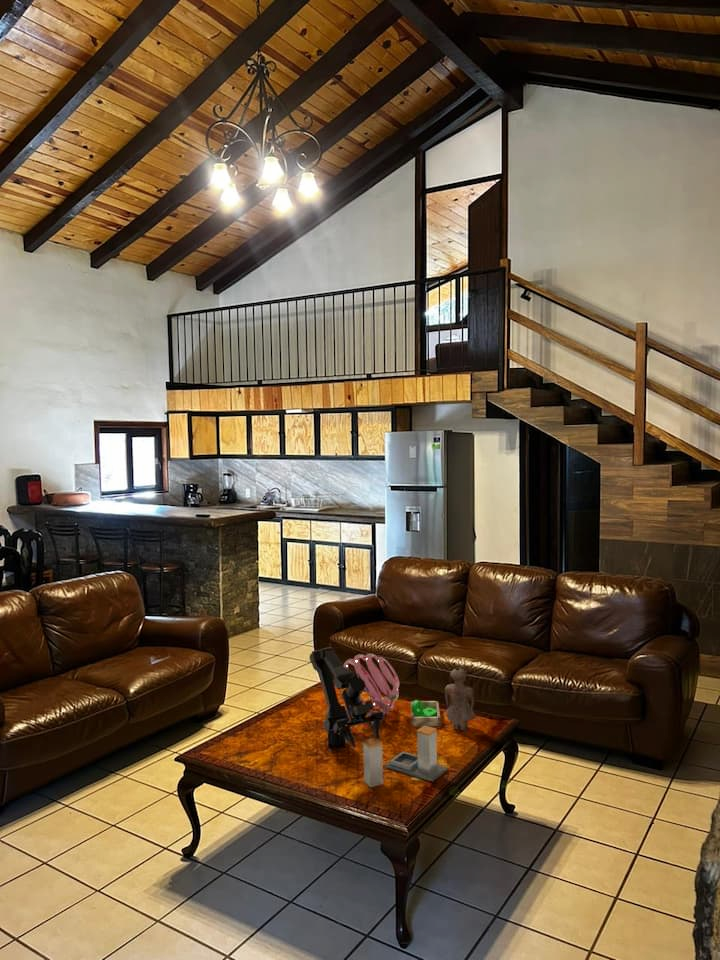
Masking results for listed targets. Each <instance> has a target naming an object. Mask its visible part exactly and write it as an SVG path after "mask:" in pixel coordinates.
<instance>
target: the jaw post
mask: <svg viewBox="0 0 720 960" xmlns="http://www.w3.org/2000/svg"><path fill="white" fill-rule="evenodd" d="M362 746H363V747H362V748H363V750H362V752H363V753H362V754H363V781H364V783H366V785H367V786H368V787H370V788H373V787H376V786H380V785H384V769H383V768H384V767H383V765H384V764H383V760H384V759H383V742H382V741H380V740H378V739H377V738H375V737H371V738H368V739H363V740H362Z"/></svg>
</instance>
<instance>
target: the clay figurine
mask: <svg viewBox="0 0 720 960" xmlns="http://www.w3.org/2000/svg"><path fill="white" fill-rule="evenodd" d="M449 675H450V678H451V679H452V680H453V682H454V683H450V684H447V685H446V686H445V688H444V696H445V697H444V698H445V704H446V707H447V709H446V711H445V716H446V718H447V719H448V720H449V722H450V723H451V724H452V725H453V726H452V729H456V730H458V729H460V730H461V731H466V730H467V729H468V728H469V726H468V725H467V724H468V721H471V720H473V719H475V718H476V714H475V712H474V706H475V692H474V689H473V688H472V687H470V686H468V685H465V684H464V683H465V681H466V679H467V674H466V671H465V670H464V669H462V668H461V667H460V668H459V667H456V668H454V669H452V670H451V671H450V674H449ZM459 727H460V728H459Z"/></svg>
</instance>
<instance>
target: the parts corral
mask: <svg viewBox="0 0 720 960" xmlns="http://www.w3.org/2000/svg"><path fill="white" fill-rule="evenodd" d="M414 701H415V700H414ZM414 701H412V700H411V701H410V707H411V706H412V703H413V702H414ZM420 701H421V702H422V704H423V710H424V709H426V708H428V707H429V708H432V709H435V710H436V711H437V715H436V716H435V717H414V712H411V711H410V712H411V713H410V715H411V727H423V726H424V725H425V726H428V727H441V713H440V706H439V705H440V704H439V700H420Z"/></svg>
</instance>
